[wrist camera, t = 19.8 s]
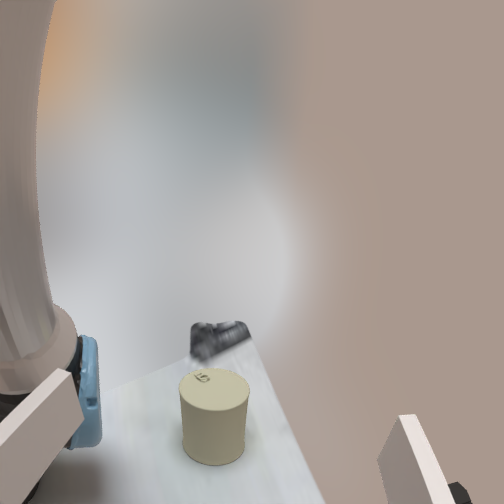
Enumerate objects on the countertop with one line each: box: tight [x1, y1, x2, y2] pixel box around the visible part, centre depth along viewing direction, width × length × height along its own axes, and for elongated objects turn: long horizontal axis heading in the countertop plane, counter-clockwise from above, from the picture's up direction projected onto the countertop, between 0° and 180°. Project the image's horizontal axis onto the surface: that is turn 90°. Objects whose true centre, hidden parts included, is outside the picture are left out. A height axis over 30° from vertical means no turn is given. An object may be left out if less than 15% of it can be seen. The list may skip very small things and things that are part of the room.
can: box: [179, 368, 250, 465], centre depth 38 cm, size 9×9×12 cm
